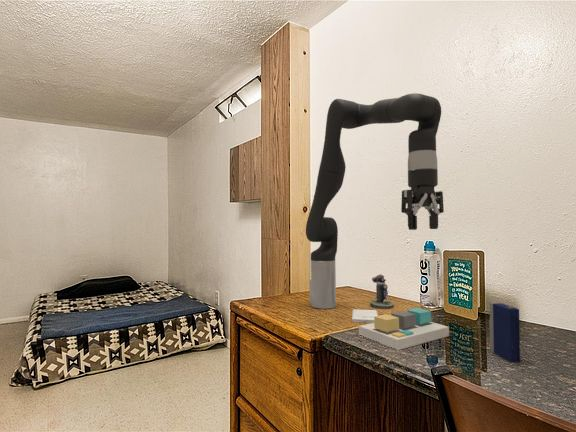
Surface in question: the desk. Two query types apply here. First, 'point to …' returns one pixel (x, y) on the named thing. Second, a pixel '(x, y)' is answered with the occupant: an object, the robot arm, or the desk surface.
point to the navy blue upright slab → (504, 331)
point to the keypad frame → (405, 334)
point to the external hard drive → (364, 315)
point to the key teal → (421, 315)
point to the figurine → (381, 294)
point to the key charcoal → (405, 318)
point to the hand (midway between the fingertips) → (423, 229)
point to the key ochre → (386, 322)
